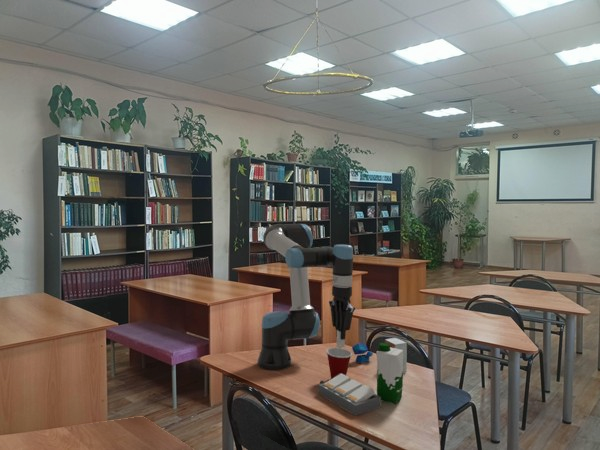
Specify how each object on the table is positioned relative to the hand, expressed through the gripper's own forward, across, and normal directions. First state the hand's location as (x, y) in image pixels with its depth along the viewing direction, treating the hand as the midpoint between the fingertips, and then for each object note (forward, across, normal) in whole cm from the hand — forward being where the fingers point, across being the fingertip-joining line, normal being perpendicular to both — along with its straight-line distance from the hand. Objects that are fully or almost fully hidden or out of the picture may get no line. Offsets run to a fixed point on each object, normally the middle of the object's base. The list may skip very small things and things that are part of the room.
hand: (340, 346), depth 160 cm
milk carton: (+18, +14, +13) cm, 26 cm away
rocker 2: (+14, +7, -1) cm, 16 cm away
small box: (+19, -5, +36) cm, 40 cm away
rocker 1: (+14, 0, -1) cm, 14 cm away
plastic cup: (+18, -10, +8) cm, 22 cm away
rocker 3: (+14, +13, -1) cm, 19 cm away
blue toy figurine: (+19, -21, +30) cm, 41 cm away
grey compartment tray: (+18, +4, -1) cm, 18 cm away
